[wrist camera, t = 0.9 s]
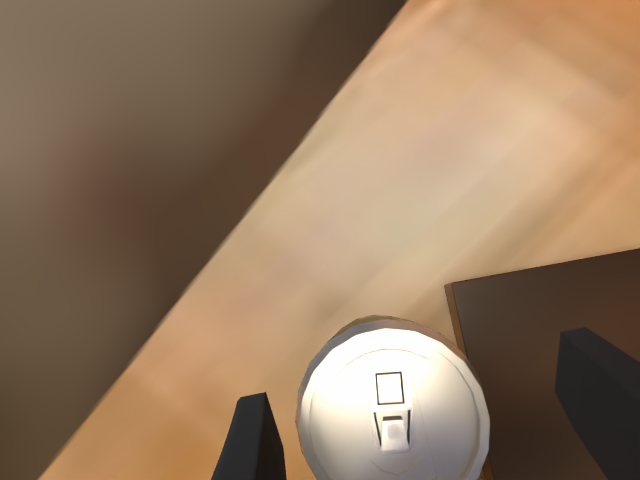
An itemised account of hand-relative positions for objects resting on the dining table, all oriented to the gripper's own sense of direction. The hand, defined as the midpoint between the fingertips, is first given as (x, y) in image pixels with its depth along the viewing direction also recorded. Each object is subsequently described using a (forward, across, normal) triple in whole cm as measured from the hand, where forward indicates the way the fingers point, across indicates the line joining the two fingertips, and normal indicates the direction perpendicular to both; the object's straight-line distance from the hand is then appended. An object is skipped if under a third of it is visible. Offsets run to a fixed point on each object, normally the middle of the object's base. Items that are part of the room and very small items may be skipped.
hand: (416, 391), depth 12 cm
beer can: (+10, 0, +9) cm, 13 cm away
